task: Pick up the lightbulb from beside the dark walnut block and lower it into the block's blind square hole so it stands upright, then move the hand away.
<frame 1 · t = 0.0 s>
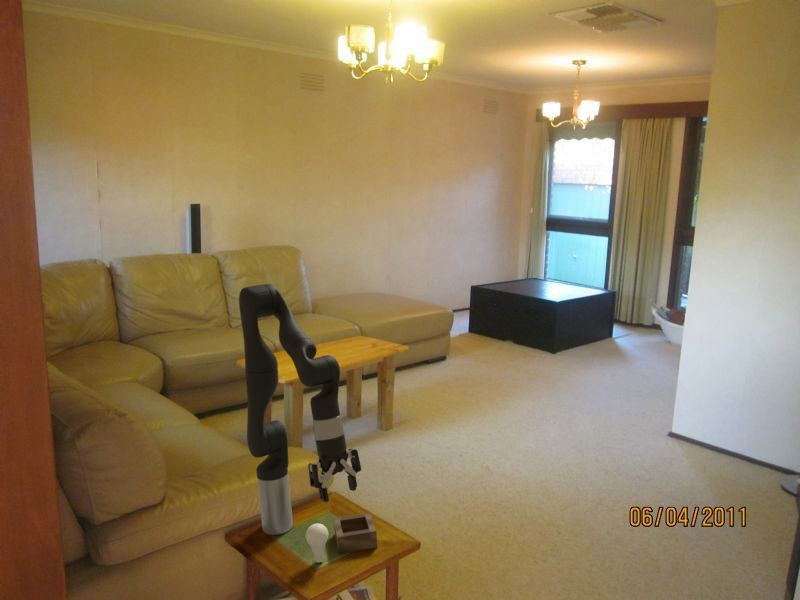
hand: (339, 495, 167), 22 cm above the table, tool pointing down, fingers open, 8 cm apart
lightbulb: (319, 562, 177), on the table
socket block: (355, 540, 187), on the table
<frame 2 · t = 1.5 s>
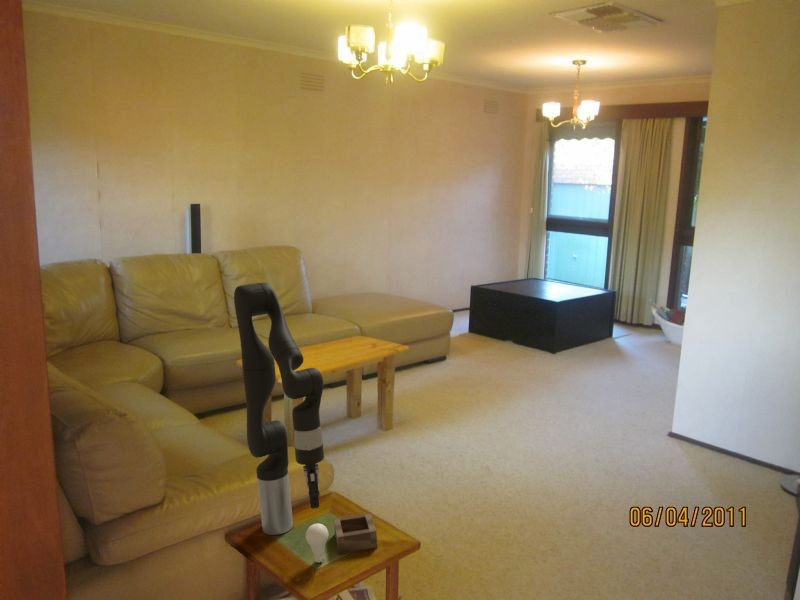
hand: (314, 500, 174), 18 cm above the table, tool pointing down, fingers open, 8 cm apart
nothing on the table moved.
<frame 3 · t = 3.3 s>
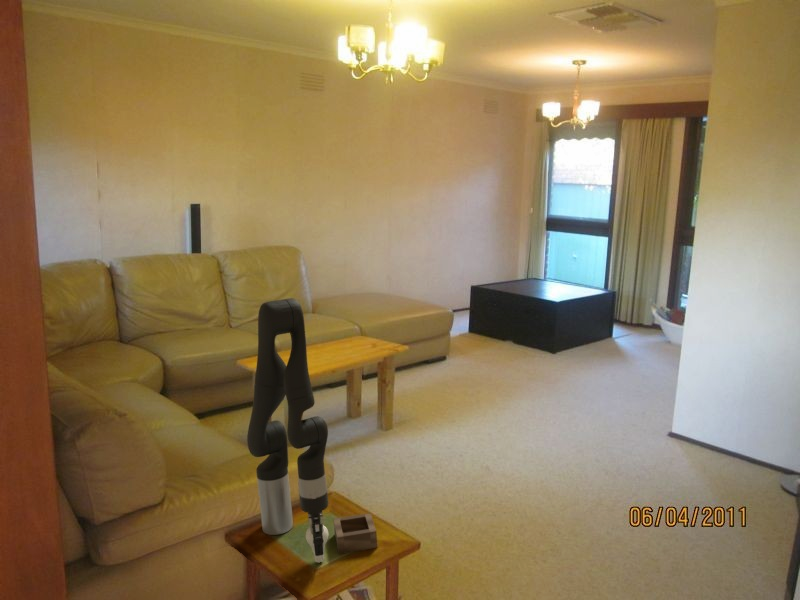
hand: (318, 548, 177), 4 cm above the table, tool pointing down, fingers closed on lightbulb, 6 cm apart
lightbulb: (319, 562, 177), on the table, touching gripper
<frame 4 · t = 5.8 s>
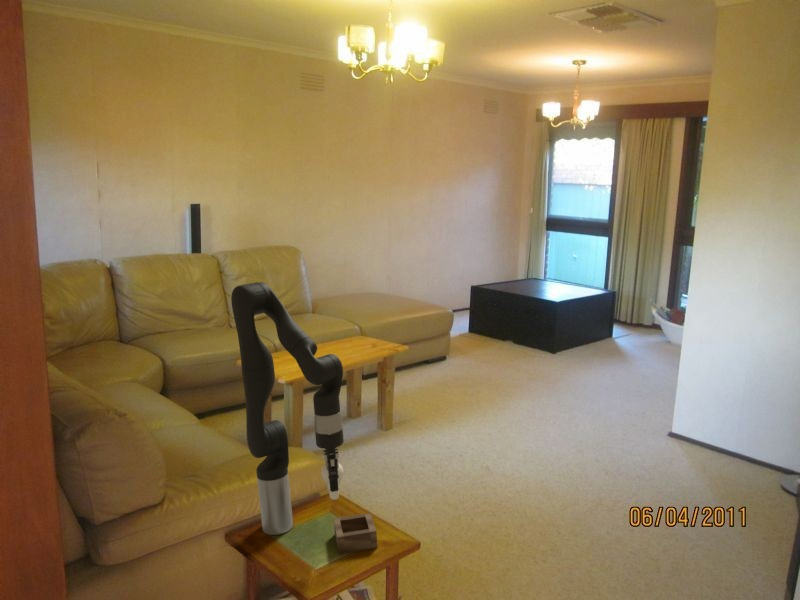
hand: (333, 485, 179), 20 cm above the table, tool pointing down, fingers closed on lightbulb, 6 cm apart
lightbulb: (334, 500, 180), point 15 cm above the table, touching gripper
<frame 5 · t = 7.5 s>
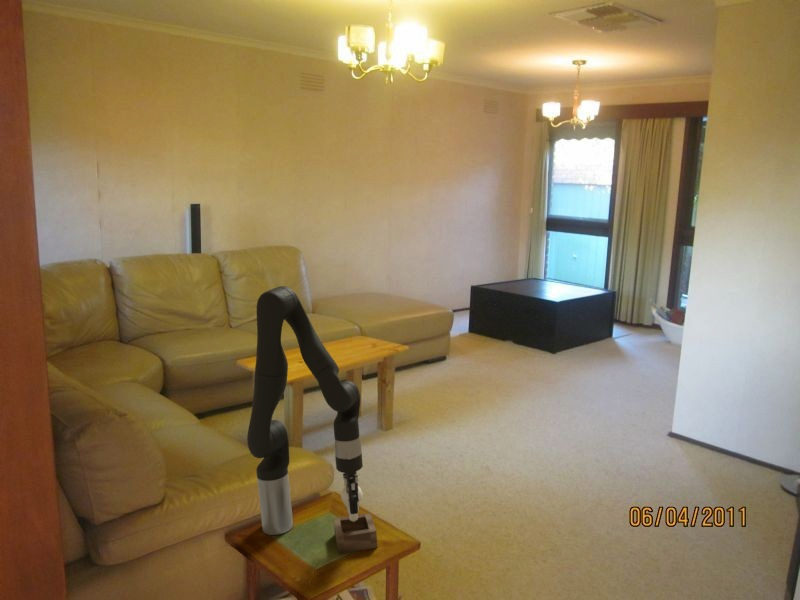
hand: (352, 507, 185), 10 cm above the table, tool pointing down, fingers closed on lightbulb, 6 cm apart
lightbulb: (354, 521, 186), point 6 cm above the table, touching gripper
when the fingers open (7 cm above the table, at t = 8.6 s): lightbulb drops 1 cm, resting on socket block.
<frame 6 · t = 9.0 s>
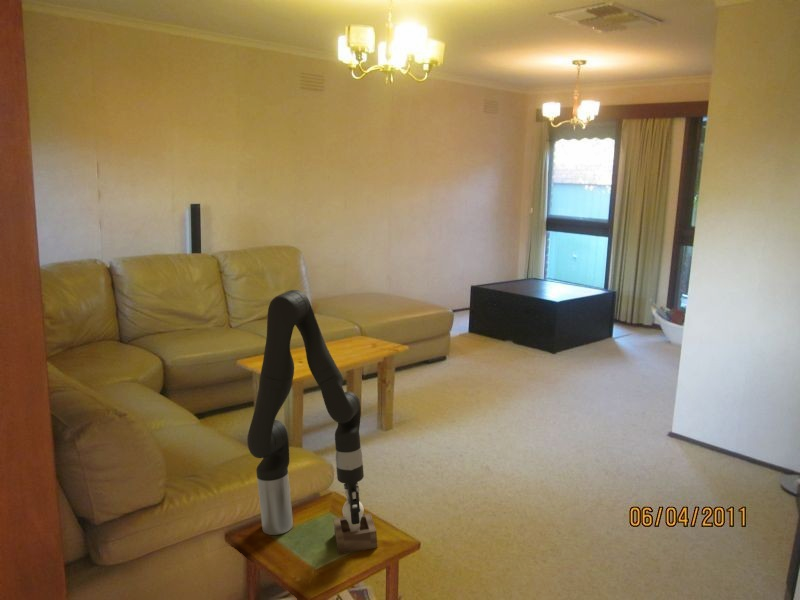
hand: (353, 516, 186), 8 cm above the table, tool pointing down, fingers open, 8 cm apart
lightbulb: (355, 536, 187), point 1 cm above the table, touching socket block
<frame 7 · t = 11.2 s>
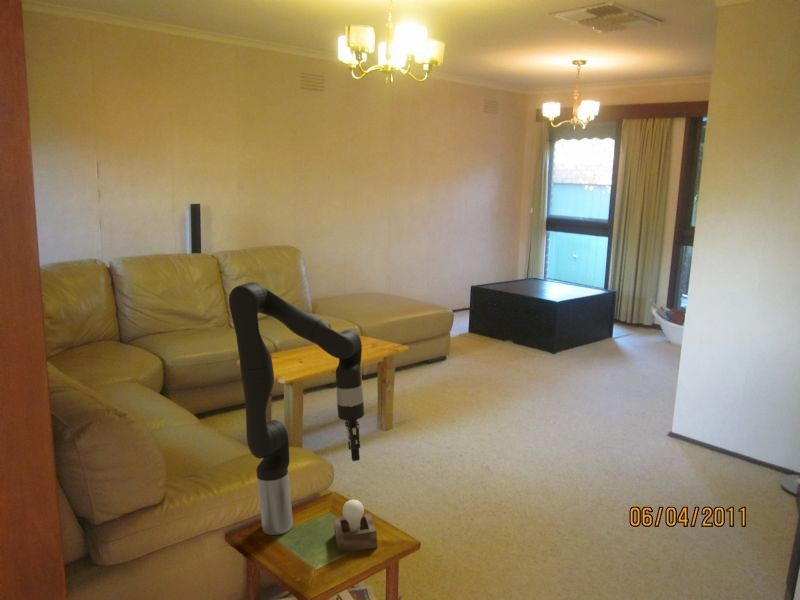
hand: (354, 454, 187), 25 cm above the table, tool pointing down, fingers open, 8 cm apart
nothing on the table moved.
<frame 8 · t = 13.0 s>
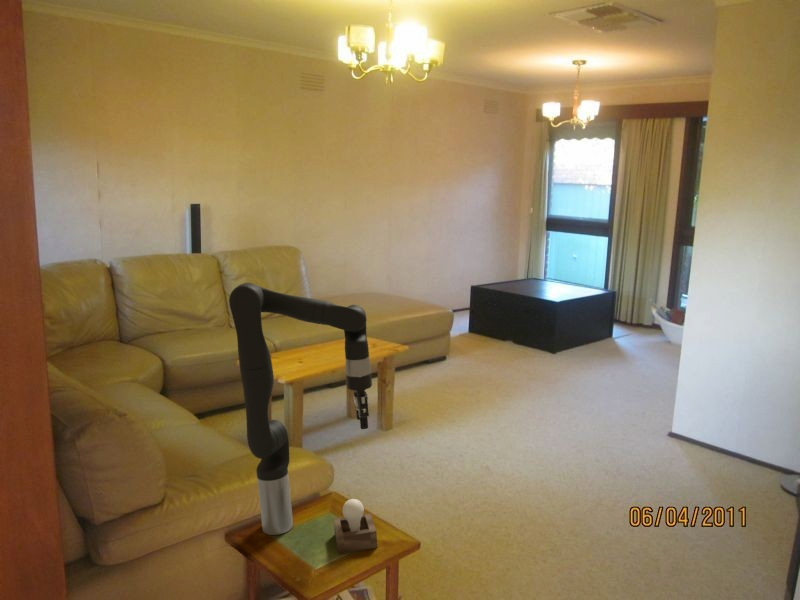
hand: (362, 423, 196), 30 cm above the table, tool pointing down, fingers open, 8 cm apart
nothing on the table moved.
at the end: lightbulb 0.1 cm off-centre on the socket block, point 1.3 cm above the socket block's base; lightbulb tilted 1°; the gripper is holding nothing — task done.
